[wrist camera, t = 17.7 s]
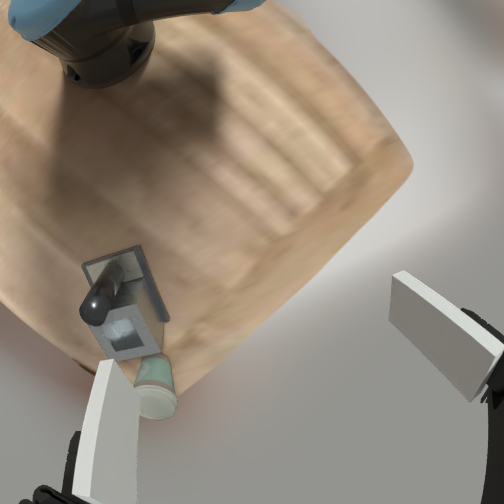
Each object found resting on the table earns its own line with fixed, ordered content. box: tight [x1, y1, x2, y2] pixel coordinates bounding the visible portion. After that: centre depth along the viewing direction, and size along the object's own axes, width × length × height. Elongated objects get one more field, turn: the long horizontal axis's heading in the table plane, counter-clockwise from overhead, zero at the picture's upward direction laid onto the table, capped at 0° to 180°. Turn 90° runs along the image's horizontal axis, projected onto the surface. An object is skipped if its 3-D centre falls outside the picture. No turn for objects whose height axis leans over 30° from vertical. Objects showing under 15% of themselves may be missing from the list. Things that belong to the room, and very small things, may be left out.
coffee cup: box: [134, 353, 178, 420], centre depth 43 cm, size 9×9×12 cm
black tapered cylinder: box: [79, 262, 125, 327], centre depth 33 cm, size 4×4×12 cm
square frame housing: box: [82, 245, 170, 361], centre depth 38 cm, size 14×11×9 cm
